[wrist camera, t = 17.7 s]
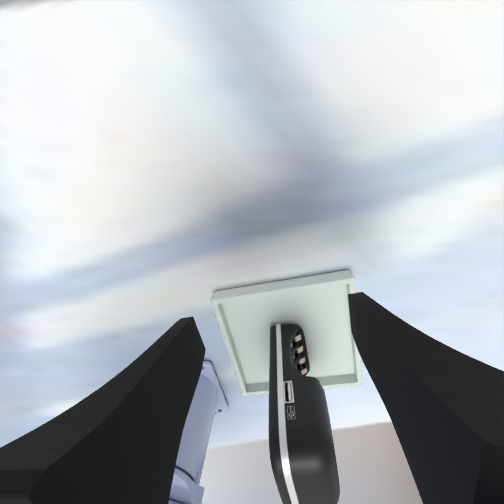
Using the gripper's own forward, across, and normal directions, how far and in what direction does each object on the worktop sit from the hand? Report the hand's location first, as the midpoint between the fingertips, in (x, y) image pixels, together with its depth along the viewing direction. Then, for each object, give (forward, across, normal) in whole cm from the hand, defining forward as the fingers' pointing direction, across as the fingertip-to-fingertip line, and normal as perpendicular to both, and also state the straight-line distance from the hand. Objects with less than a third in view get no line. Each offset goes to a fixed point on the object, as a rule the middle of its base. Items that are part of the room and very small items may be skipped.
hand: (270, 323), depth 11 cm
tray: (+10, 0, +10) cm, 14 cm away
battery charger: (+10, 0, +11) cm, 15 cm away
